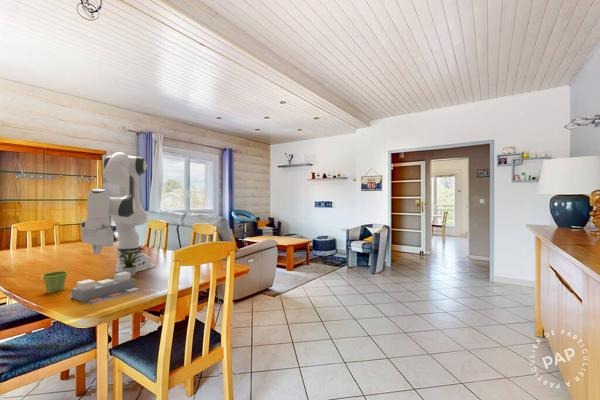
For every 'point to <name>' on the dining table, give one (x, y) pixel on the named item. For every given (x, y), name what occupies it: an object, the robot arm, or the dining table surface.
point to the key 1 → (85, 285)
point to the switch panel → (105, 292)
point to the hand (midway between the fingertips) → (97, 254)
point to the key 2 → (122, 276)
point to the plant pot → (55, 281)
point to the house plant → (130, 262)
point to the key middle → (105, 282)
